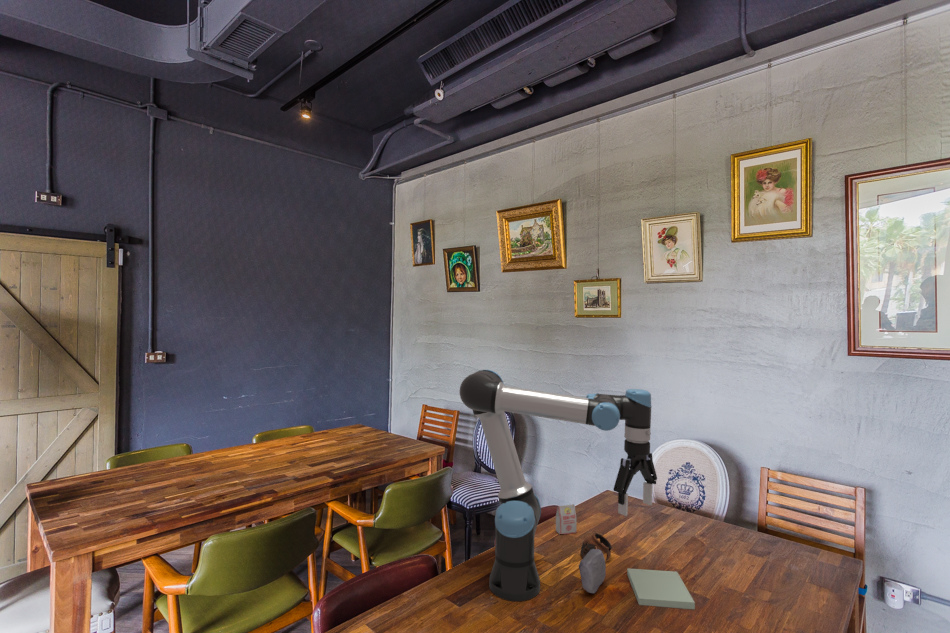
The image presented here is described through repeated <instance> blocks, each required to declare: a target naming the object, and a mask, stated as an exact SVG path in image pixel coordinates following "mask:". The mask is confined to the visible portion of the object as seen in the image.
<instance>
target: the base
mask: <svg viewBox="0 0 950 633" xmlns="http://www.w3.org/2000/svg"><path fill="white" fill-rule="evenodd" d="M626 573H627V574H626V576H627V577H628V580H629V582H630V585H631V589H632V591H633V593H634V595H635V598H636V601H637V604H638V606H647V607H648V606H651V607H661V608H671V609H672V608H673V609H683V610H695V609H696V602H695V601H694V598H693V596H692V595H691V594H690V591H689V590H688V588H687V586H686V585H685V583H684V581H683V579H682V578H681V576H680V574H679V573H678V571H674V570H673V571H672V570H656V569H641V568H629V567H628V568H627V570H626Z"/></svg>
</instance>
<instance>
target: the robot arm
mask: <svg viewBox="0 0 950 633" xmlns="http://www.w3.org/2000/svg"><path fill="white" fill-rule="evenodd" d="M459 397H460V400H461V402H462V403H463V404H464V405H465V407H467V409H470V410H472V413H473V416H474V417H477V418H478V419H479V420H480V424H481V427H482V431H483V434H484V437H485V440H486V444H487V448H488V450H489V454H490V457H491V461H492V464H493V468H494V471H495V474H496V477H497V481H498V485H499V488H500V490H499V491H498V494H497V497H498V501H499V504H500V505H499V506H498V507H497V508H496V510H495V517H494V525H495V527H494V528H495V529H494V530H495V531H494V532H495V534H494V535H495V538H494V544H495V545H494V548H495V550H494V553H495V554H494V562H493V566H492V569H491V570H490V574H489V578H488V579H489V581H488V582H489V583H488V586H489V587H488V588H489V590H490V591H491V593H492V594H493V595H494V596H496V597H497V598H499V599H502V600H504V601H505V600H506V601H508V602H524V601H529V600H531V599H533V598H535V597H536V596H537V595H538V594H539V593H540V591H541V579H540V575H539V573H538V569H537V566H536V563H535V535H536V531H537V528H538V527H537V526H538V524H539V520H540V518H541V514H542V506H541V502H540V499H539V497H538V496H537V495H536V493H535V492H534V489H533V486H532V484H531V483H529V482H528V481H526V478H525V475H524V472H523V469H522V465H521V461H520V459H519V456H518V452H517V449H516V445H515V442H514V439H513V436H512V432H511V428H510V426H509V423H508V420H507V415H506V412H508V413H512V414H513V413H514V414H520V415H527V416H533V417H536V418H537V417H539V418H542V419H543V418H544V419H551V420H558V421H564V422H569V423H575V424H582V425H588V426H594V427H596V428H597V429H600V430H601V431H605V432H608V431H612V430H614V429H616V428H617V426H618V425H619V423H620V420H621V421H622V420H623V421H625V422H624V438H625V439H624V446H623V448H624V449H623V450H624V452H625V453H626V454H627V457H626V458H622V457H621V459H620V464H619V465H620V466H619V468H618V473H617V475H616V479H615V483H614V486H613V490H612V491H614V492H616V493H617V494H618V495H617V504H618V505H617V506H618V507H617V513H618V514H620V515H622V516H625V517H627V516H628V512H629V511H628V507H629V500H628V499H629V494H628V493H627V492H628V490H629V487H630V485H631V483H632V480H633V478H634V476H635V475H637V473H638V472H640V474H641V475H642V478H643V480H644V482H643V486H642V489H643V491H642V493H643V494H642V497H643V498H642V503H643V504H645V505H649V506H653V485H656V484H657V480H658V476H657V472H656V468H655V465H654V461H653V453H652V452H651V443H650V441H651V434H652V433H651V426H652V424H651V423H652V422H651V421H652V420H651V419H652V407H653V406H652V394H651V392H650V391H649V390H647V389H646V390H645V389H639V388H630V389H626V390H625V394H623V395H617V394H605V393H598V392H596V393H588V394H586V396H585V397H584V396H583V397H582V396H581V397H580V396H576V395H575V396H574V395H568V394H562V393H555V392H548V391H541V390H536V389H534V390H533V389H528V388H522V387H521V388H520V387H515V386H509V385H508V386H507V385H505V383H504V381H503V378H502V376H500V375H499V373H497V372H496V371H494V370H490V369H481V370H477V371H475V372H474V373H471V374H469V375H467V376H466V377H465V378H464V379H463V380H462V382H461V383H460V386H459Z"/></svg>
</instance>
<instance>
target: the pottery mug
mask: <svg viewBox="0 0 950 633" xmlns="http://www.w3.org/2000/svg"><path fill="white" fill-rule="evenodd" d="M591 549H599V550H601V551H602V553H603V554H604V553H605V554H606V557H605V562H608V561H609V559H610V558H611V556H612V552H611V551H612V549H613V546H612V544H611V542H610V541H609V540H608V539H607V538H606V537H605V536H603V534H602V535H601V534H600V533H598V532H594V533H592V535H589V536H586V538H584V539H583V542H582V545H581V548H580V552H579V553H580V557H581V558H582V559H583V558H584V557H585V555H586V554H587V553H588V552H589V551H590V550H591Z"/></svg>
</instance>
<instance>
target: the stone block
mask: <svg viewBox="0 0 950 633" xmlns="http://www.w3.org/2000/svg"><path fill="white" fill-rule="evenodd" d="M606 568H607V565H606V557H605V555H604V552H603V551H601V550H599V549H597V548H596V549H591V550H590V551H589V552H588V553H587V554H586V555H585V556H584V558H582V559H580V562H579V564H578V569H579V575H580V580H581V586H582V589H584V590H585V591H586V592H587V593H590V594H595V593H596V592H597V591H598V589H599V587H600V586H601V585H602V584H603V583H604V580H605V579H606V572H607V569H606Z"/></svg>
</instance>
